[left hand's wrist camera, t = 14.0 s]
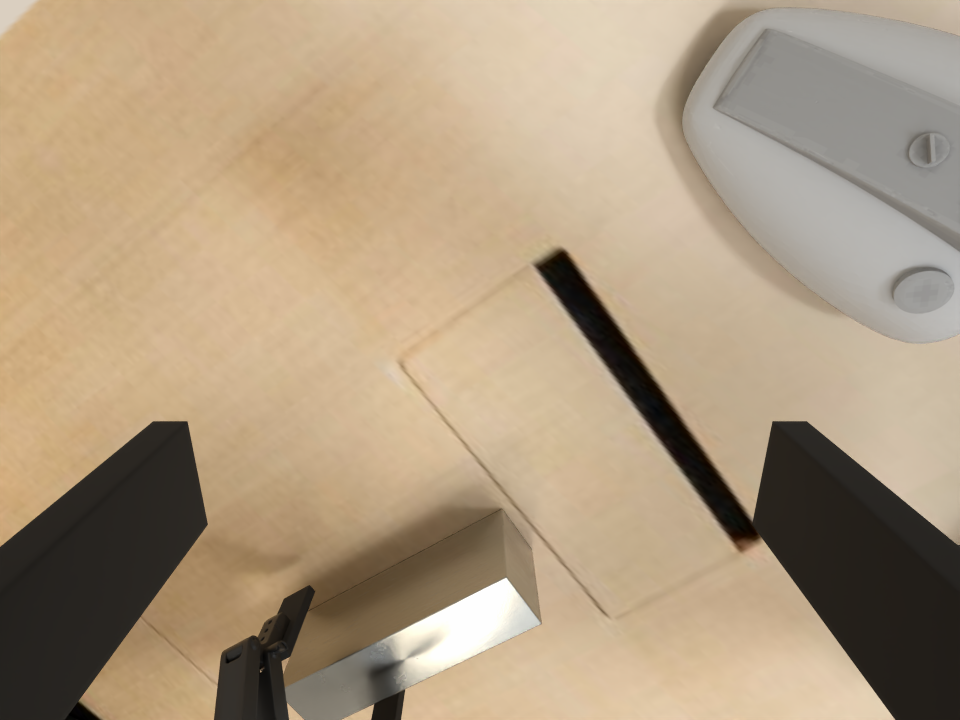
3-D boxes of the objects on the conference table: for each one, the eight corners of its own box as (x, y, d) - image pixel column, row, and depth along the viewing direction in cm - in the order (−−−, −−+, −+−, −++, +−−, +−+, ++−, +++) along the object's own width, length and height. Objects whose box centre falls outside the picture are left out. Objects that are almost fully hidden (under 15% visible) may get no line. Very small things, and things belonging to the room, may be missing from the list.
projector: (1020, -76, 34) (1382, -229, 21) (1016, 280, 42) (1279, 342, 28) (660, 48, 37) (769, -16, 23) (717, 364, 44) (826, 459, 30)
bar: (502, 508, 49) (506, 576, 41) (532, 550, 50) (542, 624, 42) (306, 611, 53) (276, 692, 45) (340, 647, 54) (316, 732, 46)
